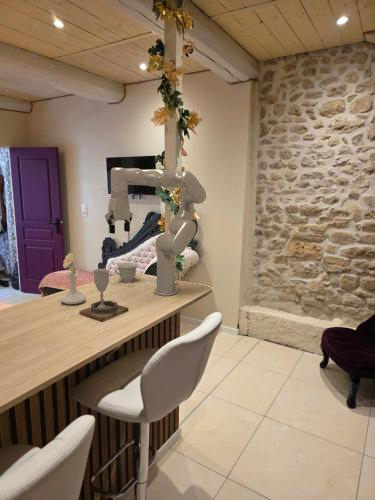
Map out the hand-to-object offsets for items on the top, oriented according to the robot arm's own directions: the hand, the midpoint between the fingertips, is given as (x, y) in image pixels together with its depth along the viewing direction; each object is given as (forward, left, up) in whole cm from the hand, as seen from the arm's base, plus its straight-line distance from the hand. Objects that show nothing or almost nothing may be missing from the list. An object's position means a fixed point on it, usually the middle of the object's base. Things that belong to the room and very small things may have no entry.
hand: (119, 232), depth 156 cm
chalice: (+16, +4, -33) cm, 37 cm away
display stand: (+14, +4, -34) cm, 37 cm away
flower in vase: (+14, -17, -34) cm, 41 cm away
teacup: (-28, -23, -34) cm, 50 cm away
